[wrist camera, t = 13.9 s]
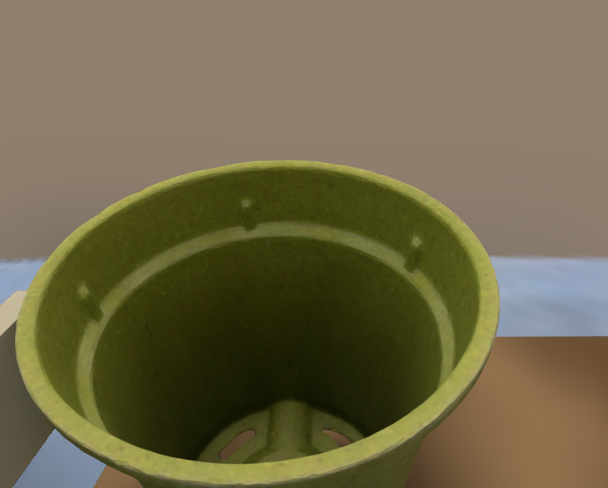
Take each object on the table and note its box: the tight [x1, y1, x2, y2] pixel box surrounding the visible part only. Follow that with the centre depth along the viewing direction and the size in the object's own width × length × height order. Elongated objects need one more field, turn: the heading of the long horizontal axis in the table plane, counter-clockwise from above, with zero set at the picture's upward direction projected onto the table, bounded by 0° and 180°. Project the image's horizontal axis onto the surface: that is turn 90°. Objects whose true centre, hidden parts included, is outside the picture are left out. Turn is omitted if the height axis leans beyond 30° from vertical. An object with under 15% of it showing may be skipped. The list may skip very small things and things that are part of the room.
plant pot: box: [15, 160, 500, 488], centre depth 14 cm, size 9×9×9 cm
